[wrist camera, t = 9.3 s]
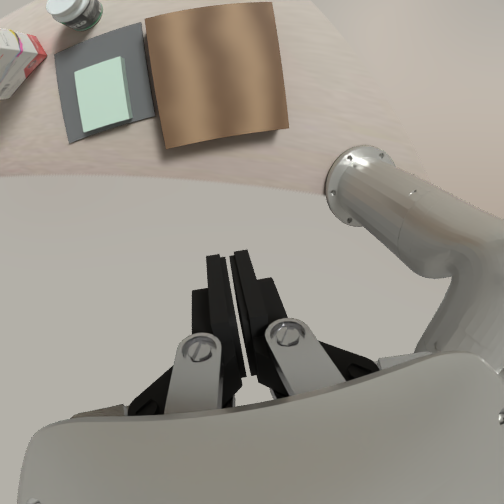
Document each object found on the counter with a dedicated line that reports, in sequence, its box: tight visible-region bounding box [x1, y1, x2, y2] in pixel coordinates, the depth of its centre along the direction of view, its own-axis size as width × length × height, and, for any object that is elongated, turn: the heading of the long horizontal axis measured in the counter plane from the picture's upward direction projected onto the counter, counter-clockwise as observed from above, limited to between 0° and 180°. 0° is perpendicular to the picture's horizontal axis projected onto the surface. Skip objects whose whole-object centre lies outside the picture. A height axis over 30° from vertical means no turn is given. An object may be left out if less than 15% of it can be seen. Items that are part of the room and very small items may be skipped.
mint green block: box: [74, 56, 133, 132], centre depth 26 cm, size 6×8×2 cm
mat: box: [54, 22, 155, 143], centre depth 26 cm, size 12×13×1 cm
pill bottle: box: [46, 0, 103, 31], centre depth 18 cm, size 5×5×8 cm
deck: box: [145, 2, 289, 149], centre depth 28 cm, size 14×16×4 cm
